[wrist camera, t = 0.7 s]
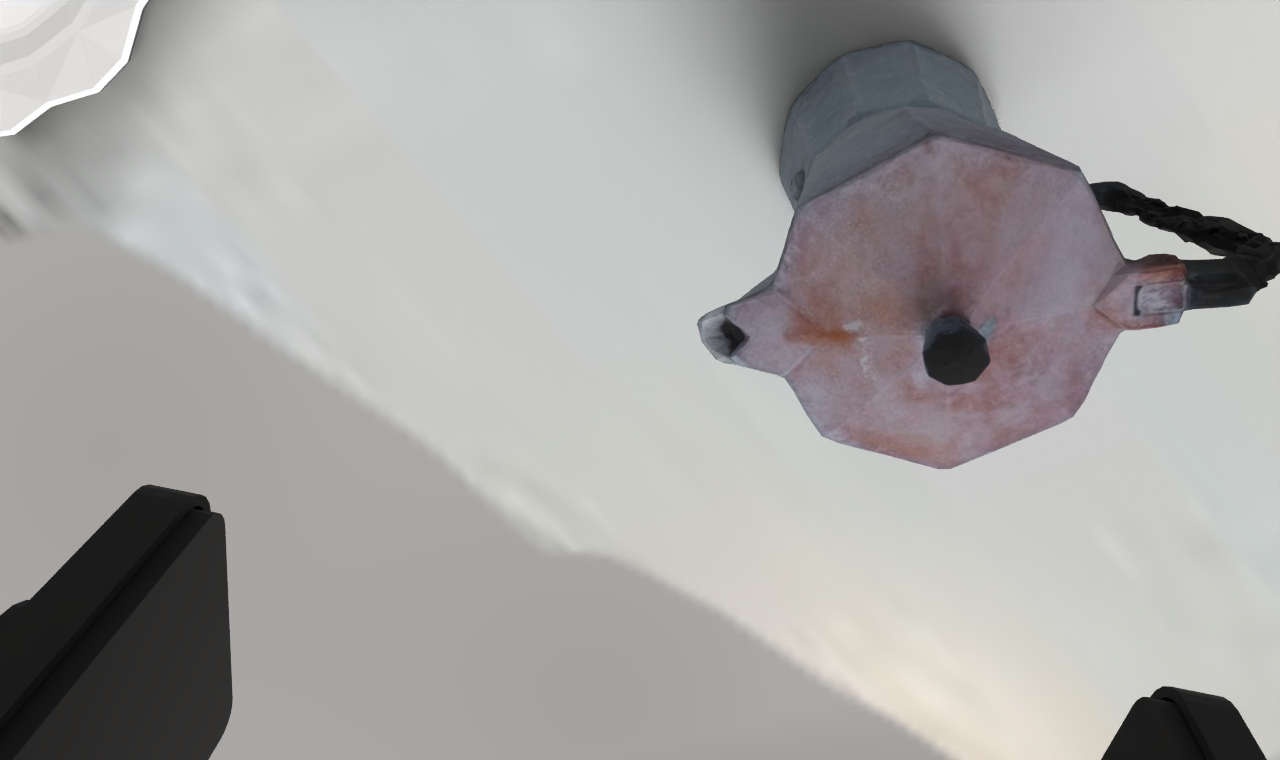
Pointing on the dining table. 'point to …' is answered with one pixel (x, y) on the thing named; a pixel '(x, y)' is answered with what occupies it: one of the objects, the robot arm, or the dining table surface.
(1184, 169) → the dining table surface
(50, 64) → the plate
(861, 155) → the moka pot
